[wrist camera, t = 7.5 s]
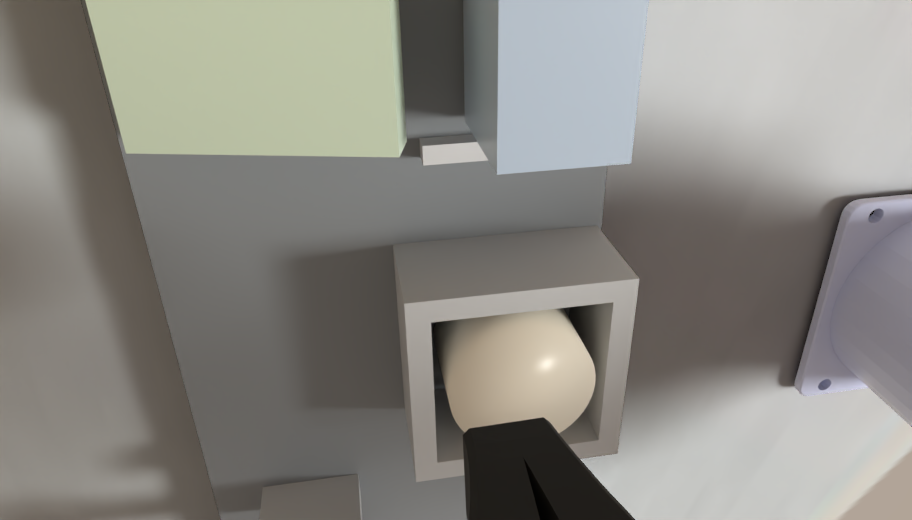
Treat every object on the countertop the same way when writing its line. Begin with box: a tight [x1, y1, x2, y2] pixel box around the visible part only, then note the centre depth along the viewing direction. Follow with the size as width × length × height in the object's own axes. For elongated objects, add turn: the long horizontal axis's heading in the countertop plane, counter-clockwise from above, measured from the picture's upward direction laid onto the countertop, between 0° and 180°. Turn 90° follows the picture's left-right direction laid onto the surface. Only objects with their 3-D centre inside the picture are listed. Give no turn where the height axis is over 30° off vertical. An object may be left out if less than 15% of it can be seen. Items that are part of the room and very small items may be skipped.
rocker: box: [85, 0, 407, 157], centre depth 14 cm, size 6×4×1 cm
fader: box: [463, 0, 649, 175], centre depth 14 cm, size 3×4×4 cm
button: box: [434, 308, 596, 433], centre depth 18 cm, size 4×4×3 cm
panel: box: [81, 0, 640, 520], centre depth 21 cm, size 12×30×5 cm, turn 1°
